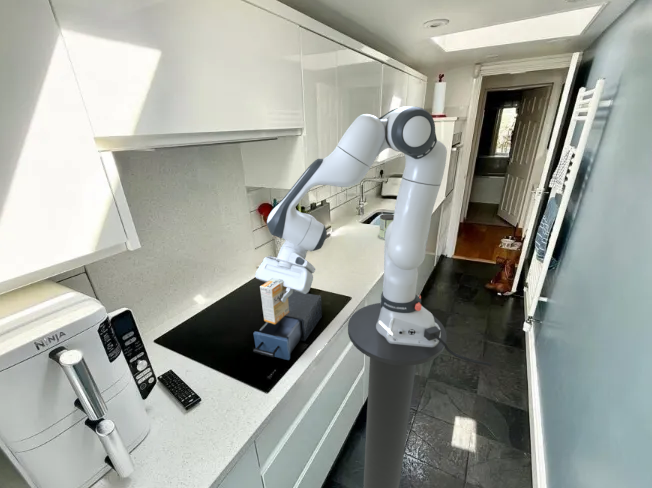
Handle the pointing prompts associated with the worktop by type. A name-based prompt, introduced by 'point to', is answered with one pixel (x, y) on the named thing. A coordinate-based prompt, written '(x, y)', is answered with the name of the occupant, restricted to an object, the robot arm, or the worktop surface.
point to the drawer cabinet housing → (305, 311)
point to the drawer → (278, 338)
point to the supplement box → (273, 300)
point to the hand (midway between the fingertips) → (274, 299)
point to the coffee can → (385, 224)
